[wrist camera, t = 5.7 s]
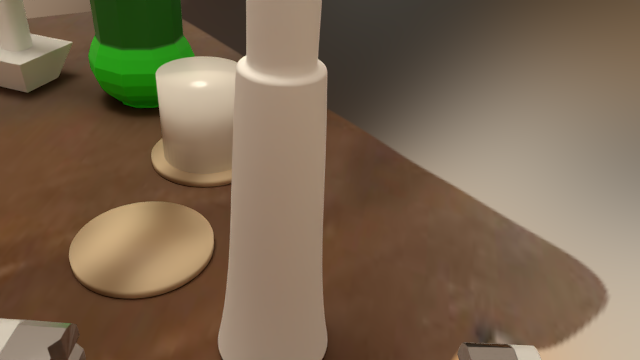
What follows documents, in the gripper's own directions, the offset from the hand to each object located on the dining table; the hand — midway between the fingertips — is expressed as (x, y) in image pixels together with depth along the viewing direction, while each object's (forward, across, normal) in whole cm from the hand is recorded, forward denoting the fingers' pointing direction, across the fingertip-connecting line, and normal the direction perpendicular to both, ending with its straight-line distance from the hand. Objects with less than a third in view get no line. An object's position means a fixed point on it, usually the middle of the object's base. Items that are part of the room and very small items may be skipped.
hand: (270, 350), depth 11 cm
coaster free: (+19, -10, -14) cm, 26 cm away
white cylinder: (+31, -8, -14) cm, 35 cm away
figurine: (+44, -29, -15) cm, 55 cm away
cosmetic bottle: (+12, -1, -15) cm, 19 cm away
